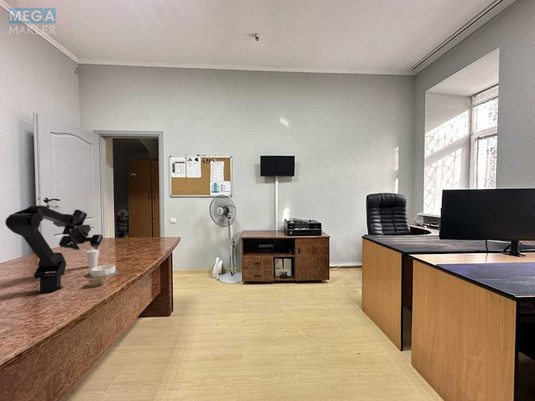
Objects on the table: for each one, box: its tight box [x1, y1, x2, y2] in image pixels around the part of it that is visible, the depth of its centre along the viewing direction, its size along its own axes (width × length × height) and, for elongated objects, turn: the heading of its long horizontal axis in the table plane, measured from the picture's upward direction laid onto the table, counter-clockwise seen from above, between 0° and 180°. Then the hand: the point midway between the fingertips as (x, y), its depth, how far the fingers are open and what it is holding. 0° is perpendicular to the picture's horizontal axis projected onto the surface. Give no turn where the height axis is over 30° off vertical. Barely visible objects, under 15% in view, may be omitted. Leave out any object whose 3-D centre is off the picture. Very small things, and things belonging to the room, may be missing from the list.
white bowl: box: [89, 264, 116, 277], centre depth 126 cm, size 11×11×3 cm
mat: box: [87, 268, 119, 280], centre depth 126 cm, size 12×12×1 cm
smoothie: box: [85, 247, 100, 269], centre depth 138 cm, size 6×6×14 cm
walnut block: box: [88, 275, 107, 288], centre depth 109 cm, size 5×5×4 cm
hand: (88, 249), depth 133 cm, fingers open, 9 cm apart
